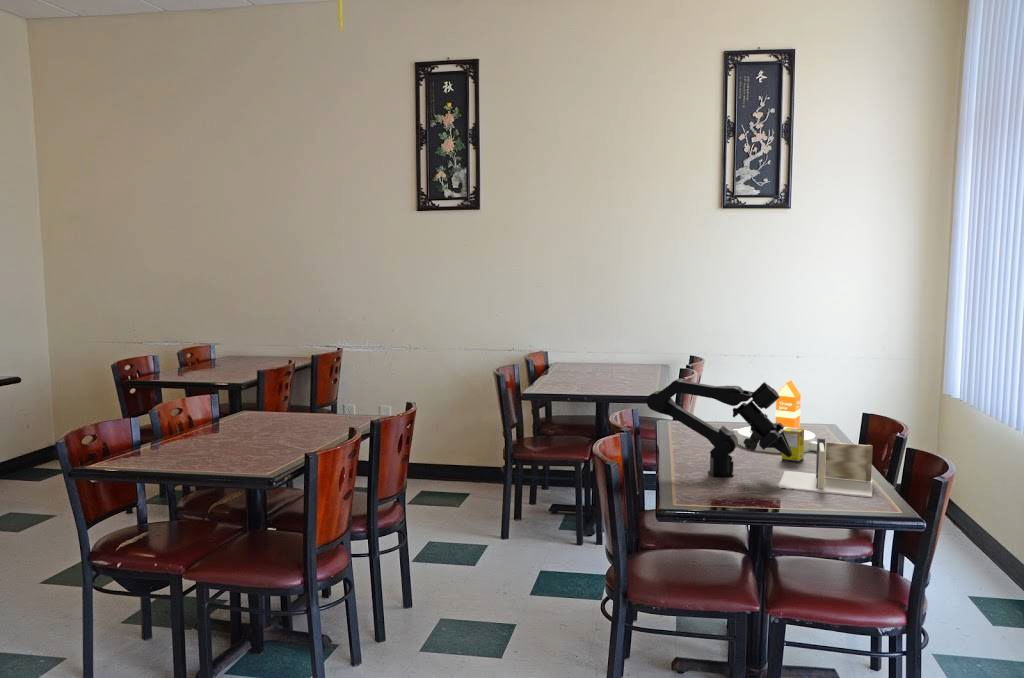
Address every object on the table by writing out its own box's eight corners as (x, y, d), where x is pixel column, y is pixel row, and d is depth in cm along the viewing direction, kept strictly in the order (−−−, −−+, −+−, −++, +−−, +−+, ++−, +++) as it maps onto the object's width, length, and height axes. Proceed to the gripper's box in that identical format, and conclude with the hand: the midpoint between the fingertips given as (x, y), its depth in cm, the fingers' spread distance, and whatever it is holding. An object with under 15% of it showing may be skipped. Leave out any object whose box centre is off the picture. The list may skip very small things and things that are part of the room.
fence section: (815, 479, 275) (816, 439, 274) (816, 477, 277) (817, 437, 276) (870, 484, 269) (872, 443, 267) (871, 483, 271) (872, 442, 270)
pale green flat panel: (818, 487, 262) (819, 451, 261) (817, 477, 274) (818, 442, 273) (824, 488, 261) (825, 452, 260) (823, 477, 274) (824, 442, 273)
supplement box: (803, 460, 301) (804, 429, 300) (798, 463, 296) (799, 432, 295) (786, 457, 305) (787, 427, 304) (781, 461, 300) (782, 430, 299)
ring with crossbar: (825, 454, 312) (826, 441, 311) (747, 453, 312) (748, 440, 312) (801, 438, 340) (802, 426, 339) (729, 437, 340) (730, 425, 340)
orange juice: (799, 429, 354) (801, 381, 352) (794, 433, 347) (796, 383, 345) (780, 427, 358) (782, 379, 356) (774, 431, 351) (776, 382, 349)
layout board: (778, 488, 265) (778, 486, 265) (784, 472, 284) (784, 470, 284) (871, 497, 255) (872, 495, 254) (872, 480, 274) (872, 478, 274)
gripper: (741, 429, 286) (774, 465, 283) (732, 440, 269) (767, 478, 266) (766, 407, 282) (800, 443, 279) (759, 417, 265) (795, 455, 262)
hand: (790, 455), depth 272 cm, fingers closed
